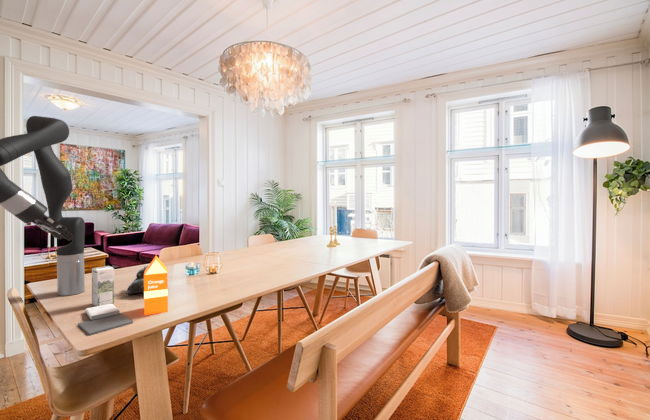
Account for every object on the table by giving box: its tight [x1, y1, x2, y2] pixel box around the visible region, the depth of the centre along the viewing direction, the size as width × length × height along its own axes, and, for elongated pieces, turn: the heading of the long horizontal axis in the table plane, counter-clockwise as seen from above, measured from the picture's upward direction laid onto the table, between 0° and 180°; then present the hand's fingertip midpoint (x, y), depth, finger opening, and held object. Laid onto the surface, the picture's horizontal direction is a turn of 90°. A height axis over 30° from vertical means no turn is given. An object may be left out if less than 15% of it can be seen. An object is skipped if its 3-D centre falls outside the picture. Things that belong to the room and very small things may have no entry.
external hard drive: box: [85, 303, 121, 320], centre depth 109 cm, size 2×8×12 cm
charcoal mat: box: [77, 312, 134, 336], centre depth 101 cm, size 12×12×1 cm
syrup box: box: [91, 265, 115, 307], centre depth 120 cm, size 6×6×14 cm
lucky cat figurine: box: [125, 265, 149, 296], centre depth 136 cm, size 15×12×14 cm
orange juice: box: [143, 255, 169, 316], centre depth 114 cm, size 8×9×20 cm
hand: (67, 238), depth 110 cm, fingers open, 8 cm apart
